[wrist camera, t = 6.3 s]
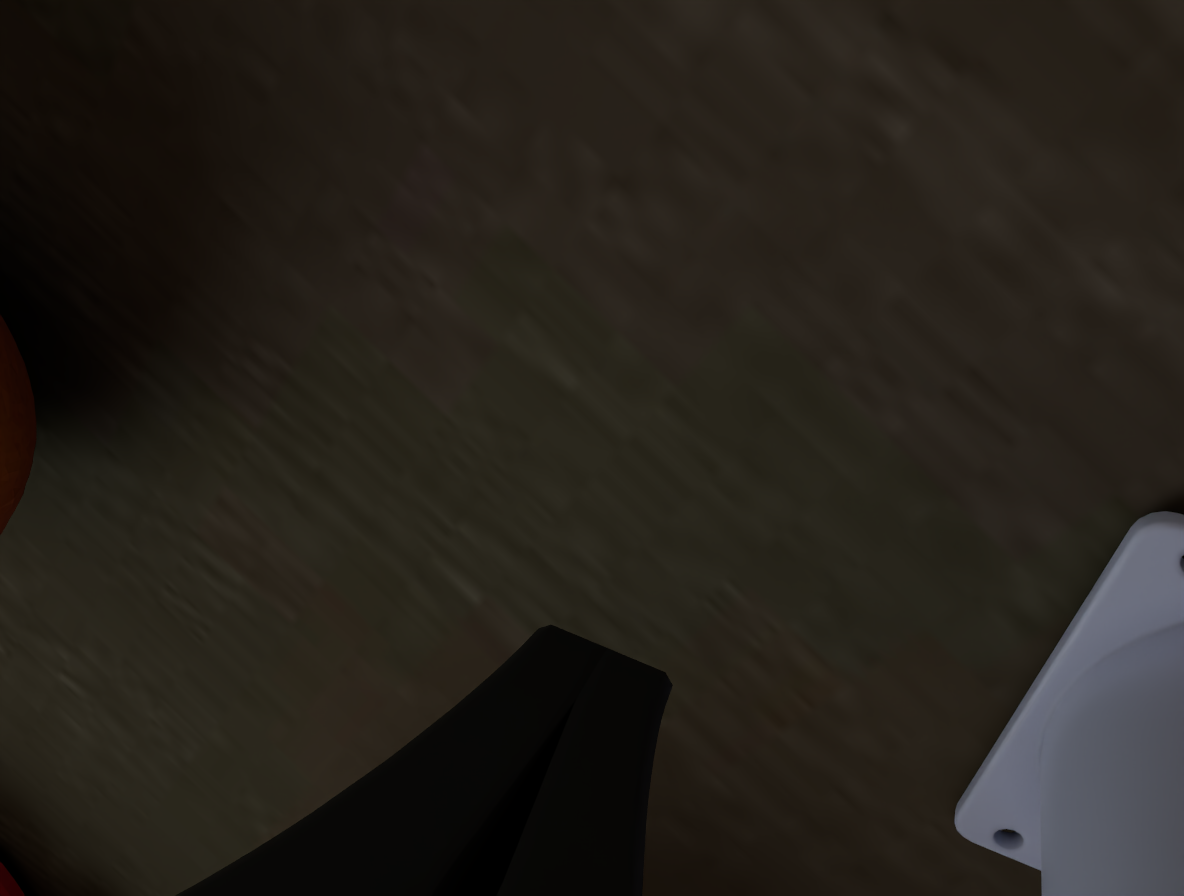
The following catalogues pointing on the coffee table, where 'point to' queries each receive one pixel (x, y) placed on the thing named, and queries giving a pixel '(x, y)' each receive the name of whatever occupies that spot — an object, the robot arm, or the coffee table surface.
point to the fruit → (14, 425)
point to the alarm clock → (8, 884)
